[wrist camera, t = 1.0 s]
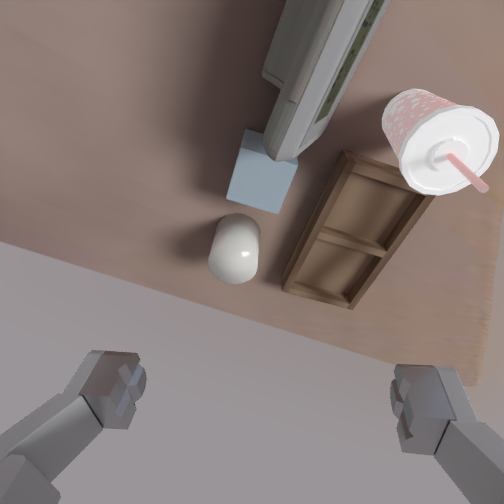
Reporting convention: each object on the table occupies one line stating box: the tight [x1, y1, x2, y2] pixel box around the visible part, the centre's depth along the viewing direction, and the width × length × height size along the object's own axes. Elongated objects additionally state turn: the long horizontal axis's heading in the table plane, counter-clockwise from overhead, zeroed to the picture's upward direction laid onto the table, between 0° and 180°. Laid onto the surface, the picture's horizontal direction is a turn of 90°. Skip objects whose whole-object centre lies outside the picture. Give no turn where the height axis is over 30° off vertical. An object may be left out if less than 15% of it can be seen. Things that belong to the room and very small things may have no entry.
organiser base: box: [282, 150, 436, 310], centre depth 37 cm, size 9×17×3 cm, turn 163°
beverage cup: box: [382, 89, 499, 195], centre depth 24 cm, size 6×6×14 cm
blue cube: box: [226, 129, 298, 214], centre depth 31 cm, size 5×5×5 cm
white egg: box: [208, 213, 260, 284], centre depth 36 cm, size 5×5×6 cm
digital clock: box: [262, 0, 391, 162], centre depth 22 cm, size 16×9×11 cm, turn 148°
